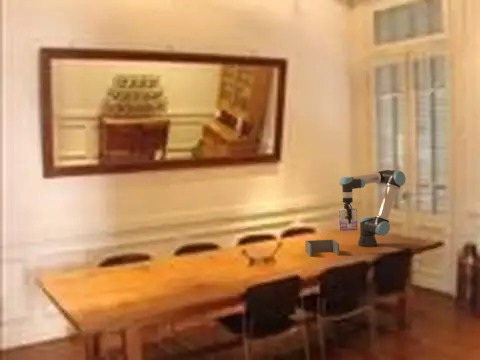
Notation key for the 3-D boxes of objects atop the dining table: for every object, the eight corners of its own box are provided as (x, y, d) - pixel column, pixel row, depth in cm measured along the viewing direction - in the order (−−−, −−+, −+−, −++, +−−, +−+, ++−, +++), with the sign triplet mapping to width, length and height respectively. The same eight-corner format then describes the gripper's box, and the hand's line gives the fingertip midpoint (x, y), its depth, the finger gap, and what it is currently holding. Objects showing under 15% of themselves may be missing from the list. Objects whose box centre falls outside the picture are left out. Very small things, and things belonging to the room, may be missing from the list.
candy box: (357, 229, 477) (356, 208, 475) (357, 230, 471) (357, 209, 469) (338, 229, 478) (338, 208, 476) (339, 230, 472) (338, 209, 471)
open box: (333, 250, 485) (333, 239, 484) (339, 255, 468) (339, 243, 467) (305, 251, 483) (305, 240, 482) (310, 256, 466) (310, 245, 465)
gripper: (339, 195, 481) (340, 224, 484) (346, 199, 462) (346, 229, 464) (349, 195, 482) (349, 224, 484) (355, 198, 462) (356, 228, 465)
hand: (348, 226), depth 474 cm, fingers closed on candy box, 6 cm apart
